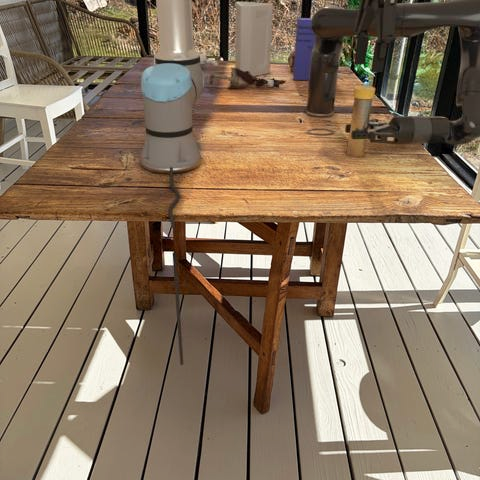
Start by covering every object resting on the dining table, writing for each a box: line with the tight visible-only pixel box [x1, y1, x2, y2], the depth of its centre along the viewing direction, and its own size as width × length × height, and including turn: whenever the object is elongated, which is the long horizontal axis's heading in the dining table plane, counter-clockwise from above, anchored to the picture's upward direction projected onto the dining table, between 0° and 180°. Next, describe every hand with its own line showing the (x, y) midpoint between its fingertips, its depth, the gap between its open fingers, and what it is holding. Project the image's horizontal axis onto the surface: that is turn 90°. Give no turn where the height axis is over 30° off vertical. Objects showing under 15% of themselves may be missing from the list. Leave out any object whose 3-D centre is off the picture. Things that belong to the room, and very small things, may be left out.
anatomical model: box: [287, 49, 295, 72], centre depth 221 cm, size 13×9×15 cm
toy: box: [153, 51, 219, 68], centre depth 223 cm, size 24×25×7 cm
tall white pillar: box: [234, 1, 274, 77], centre depth 210 cm, size 19×15×28 cm
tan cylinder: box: [346, 96, 373, 158], centre depth 126 cm, size 5×5×17 cm
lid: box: [353, 85, 376, 100], centre depth 122 cm, size 5×5×2 cm
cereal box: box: [292, 17, 315, 81], centre depth 201 cm, size 17×5×24 cm, turn 86°
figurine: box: [209, 66, 287, 89], centre depth 190 cm, size 24×8×30 cm
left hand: (367, 67), depth 119 cm, fingers open, 9 cm apart
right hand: (349, 131), depth 127 cm, fingers closed on tan cylinder, 4 cm apart
